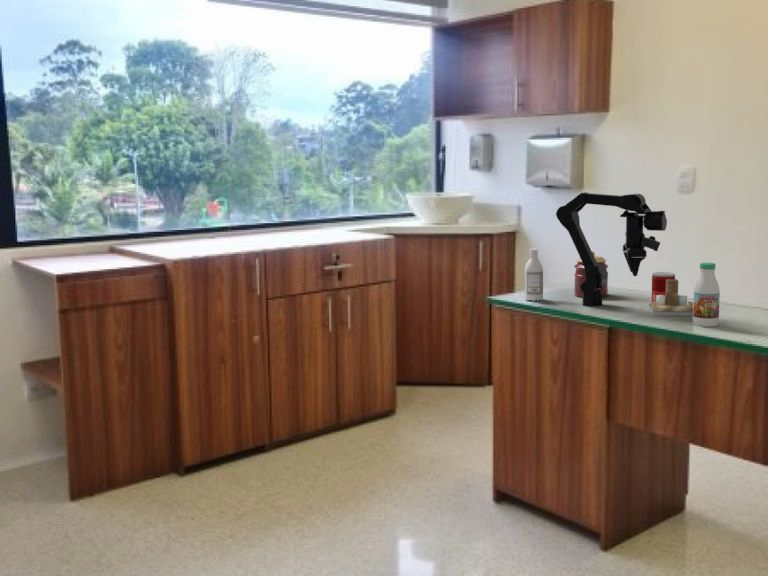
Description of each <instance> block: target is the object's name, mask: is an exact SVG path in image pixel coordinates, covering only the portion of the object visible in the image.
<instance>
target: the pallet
mask: <svg viewBox="0 0 768 576" xmlns="http://www.w3.org/2000/svg"><path fill="white" fill-rule="evenodd" d="M678 295H679V280H678V279H676V278H675V279H666V305H656V301H652V300H651V301H650V304H651V305H652V307H653V308H654V310H655V311H693V305H691V304H690V303H689V302H688V301H687V305H678Z"/></svg>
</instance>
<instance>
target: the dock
mask: <svg viewBox="0 0 768 576" xmlns="http://www.w3.org/2000/svg"><path fill="white" fill-rule="evenodd" d="M648 309H649V310H650V312H651V313H652V315H653V316H654V317H657V316H659V317H693V311H655V310H654V308H653V307H652V305H651V303H650V304H648Z"/></svg>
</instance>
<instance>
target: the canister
mask: <svg viewBox="0 0 768 576" xmlns="http://www.w3.org/2000/svg"><path fill="white" fill-rule="evenodd" d="M591 251H592V250H591ZM592 253H593V256H594V258H595V260H596V261H597V262H598V263H599V264H602V263H603V264H604V266H605V269H606V271H607V272H608V268H609V265H608V264H607V263H606V262H607V259H605V258H604V257H603V256H600V255H596V253H595V252H594V251H592ZM576 262H577V263H576V264H575V265H574V266H573V267H574V268H575V271H574V272H575V273H574V274H573V275H574V288H573V292H574V296H576V297H578V298H583V291H581V288H580V285H581V284H582V283H584V282H585V281H586V278H585V274H584V265H583V262H582V260H581V258H580V257H579V258H577V259H576ZM607 276H609V273H608V274H607ZM608 279H609V278H608ZM608 279H607V282H606V283H605V284H603V286H602V289H600V290H601V293H602V298H605V297H607V296H608V294H609V288H608V285H609V280H608Z"/></svg>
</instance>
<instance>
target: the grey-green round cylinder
mask: <svg viewBox="0 0 768 576" xmlns="http://www.w3.org/2000/svg"><path fill="white" fill-rule="evenodd" d="M687 302H688V295H687V294H686V295H684V294H680V295H679V294H678V305H687Z"/></svg>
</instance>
